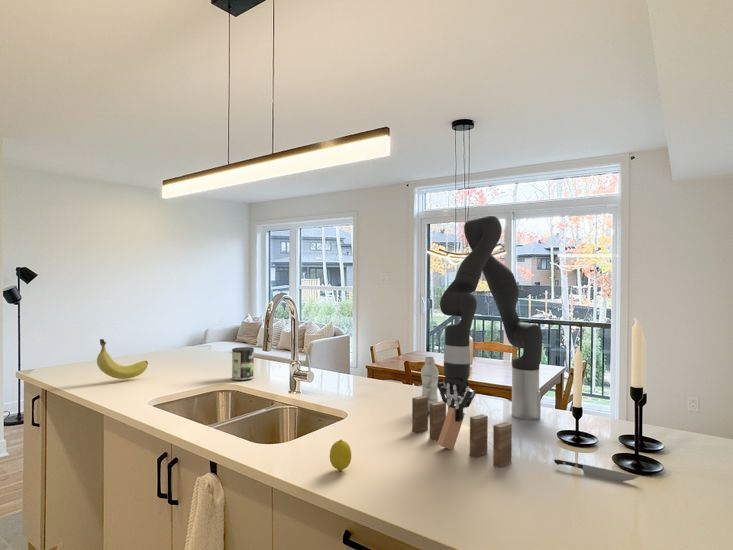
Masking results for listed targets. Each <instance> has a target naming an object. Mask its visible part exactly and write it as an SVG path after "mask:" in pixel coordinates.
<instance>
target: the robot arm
mask: <svg viewBox="0 0 733 550" xmlns="http://www.w3.org/2000/svg"><path fill="white" fill-rule="evenodd" d="M502 230H503V228H502V224H501V221H500V220H499V218H498V217H497V216H496V215H493V214H491V215H490V214H489V215H484V216H481V217H476V218H473V219H469V220H467V221H466V222H465V223H464V225H463V231H464V236H465V239H466V241H467V243H468V246H469V247H470V249H471V251H470V253H468V255H467V256H466V257H465V258H464V259H463V260H462V261H461V263H460V265H459V267H458V269H457V272H456V275H455V278H454V279H453V281H452V282H451V283H450V284H449V286H448V287H447V288H446V290H445V291H443V293H442V296H441V297H440V300H439V309H440V311H441V313H442V314H444V315H445V316H451V317H460V318H461V319H460V321H458V323H453V324H448V325H446V327H445V339H444V350H443V376H444V379H443V381H441V382H437V389H438V390H439V393H440V397H441V401H442V402H444V403H446V407H447V410H448V409H449V407H451V408H454V409H455V421H457V422H460V421H462V419H463V420H464V418H463V413H464V409H467V408H469V407H470V406H471V404H472V401H473V399H474V398H475V396H476V394H477V391H476V389H473V390H472V388H470V387H469V386H470V383H469V378H470V373H471V372H470V371H471V370H470V369H471V365H470V364H471V350H470V340H471V339H470V338H471V336H470V334H471V329H472V324H473V320H474V317H475V315H476V311H477V306H478V301H477V298H476V296H475V295H474V294H473V293H474V292H475V291H476V290H477V287H478V285H479V282H480V279H481V276H482V273H483V277H484V279H485V281H486V284H487V286H488V288H489V291H490V293H491V296H492V298H493V301H494V303H495V305H496V307H497V310H498V313H499V316H500V318H501V319H500V320H501V321H502V325H503V329H504V332H505V335H506V338H507V341H508V343H509V344H510V345H511V346H512V347H514V348H518V349H523V352H522V355H521V356H519V357H515V358H512V361H511V416H512V417H514V418H517V419H519V420H525V421H535V420H541V418H542V417H541V416H542V415H541V412H542V409H541V405H542V403H541V401H542V400H541V399H542V397H541V396H542V395H541V391H540V365H541V362H542V356H543V355H542V352H543V332H542V329H541V327H540V326H539V325H538V324H536V323H528V322H522V321H521V320H520V318H519V314H518V313H517V303H518V301H519V295H520V290H519V285H518V282H517V280H516V278H515V276H514V273H513V272H512V270H511V269H510V268H509V267H508V266H507V265H505V263H503V262H502V261H500V260H499V259H498V258H496V257H495V256H494V255H493V254H492V253H493V251H494V250H495V248H496V246H497V245H498V243H499V241H500V239H501V237H502ZM462 422H463V421H462Z"/></svg>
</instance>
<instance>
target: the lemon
mask: <svg viewBox="0 0 733 550" xmlns="http://www.w3.org/2000/svg"><path fill="white" fill-rule="evenodd" d="M329 460H330V461H329V462H330V464H331V466H332V467H333V468H334V469H335V470H338V472H342V471H343V470H344V469H347V468H348V467H349V466H350V464H351V461H352V449H351V446H350V444H349V443H348V442H346V441H344V440H343V439H339V440H338V441H335V442H334V443H333V444H332V446H331V448H330V451H329Z"/></svg>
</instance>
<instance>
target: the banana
mask: <svg viewBox="0 0 733 550" xmlns="http://www.w3.org/2000/svg"><path fill="white" fill-rule="evenodd" d="M99 344H100V346H101V350H100V352H99V353H98V355H97V357H96V365H97V367H98V368H99V370H100V371H101V372H103V373H104V374H105V375H107V376H109V377H110V378H112V379H118V380H119V379H120V380H125V379H132V378H135V377H138V376H141V375H142V374H143V373H145V371H146V369H147V368H148V365H149V362H148V361H147V360H143V361H139V362H136V363H134V364H131V365H120V364H118V363H117V362H116V361H114V359H113V358H112V357H111V356H110V354H109V353H108V352H107V350H106V344H107V342H106V341H105V339H104V338H100V339H99Z"/></svg>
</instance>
